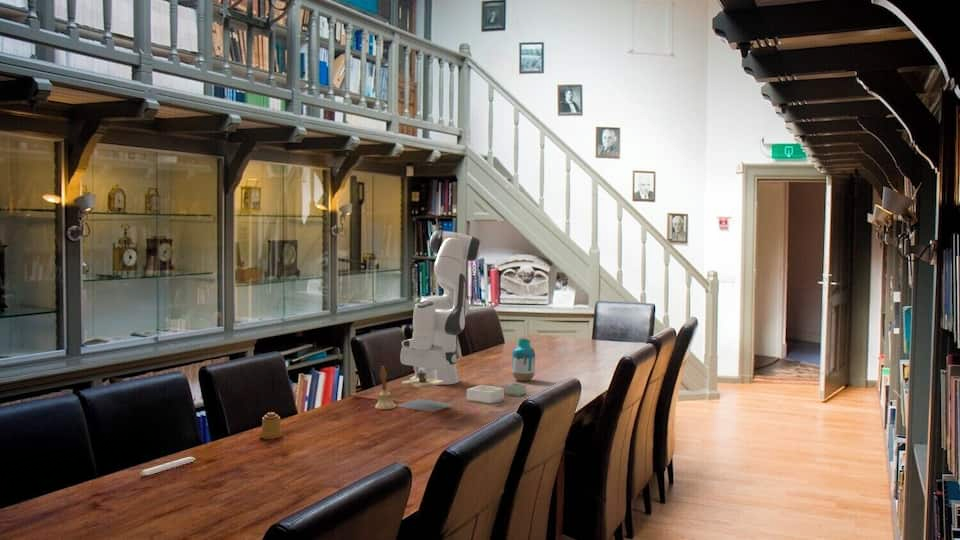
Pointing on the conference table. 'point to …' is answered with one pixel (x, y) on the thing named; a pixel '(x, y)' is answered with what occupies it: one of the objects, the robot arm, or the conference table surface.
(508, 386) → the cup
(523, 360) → the vase
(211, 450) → the conference table surface
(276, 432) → the ornamental finial
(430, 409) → the mat
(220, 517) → the conference table surface
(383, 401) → the hand bell
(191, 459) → the marker
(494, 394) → the dish
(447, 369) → the robot arm
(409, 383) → the lid
